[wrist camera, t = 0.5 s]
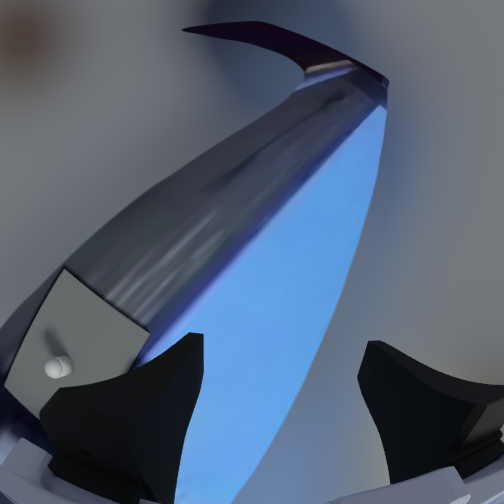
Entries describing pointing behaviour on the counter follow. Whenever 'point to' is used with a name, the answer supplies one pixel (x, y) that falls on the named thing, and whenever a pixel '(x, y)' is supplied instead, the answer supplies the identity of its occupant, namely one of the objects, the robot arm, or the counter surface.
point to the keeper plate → (72, 344)
